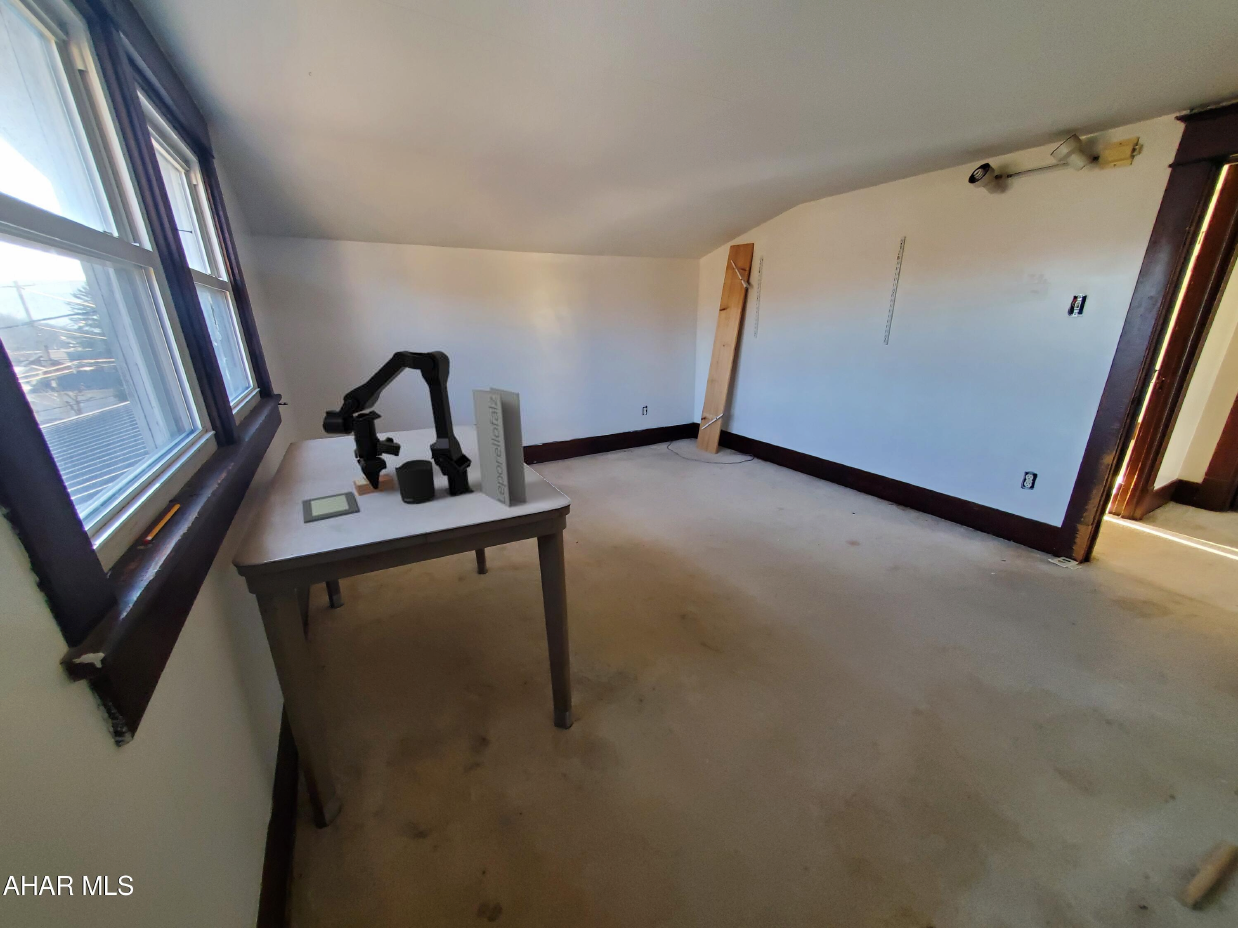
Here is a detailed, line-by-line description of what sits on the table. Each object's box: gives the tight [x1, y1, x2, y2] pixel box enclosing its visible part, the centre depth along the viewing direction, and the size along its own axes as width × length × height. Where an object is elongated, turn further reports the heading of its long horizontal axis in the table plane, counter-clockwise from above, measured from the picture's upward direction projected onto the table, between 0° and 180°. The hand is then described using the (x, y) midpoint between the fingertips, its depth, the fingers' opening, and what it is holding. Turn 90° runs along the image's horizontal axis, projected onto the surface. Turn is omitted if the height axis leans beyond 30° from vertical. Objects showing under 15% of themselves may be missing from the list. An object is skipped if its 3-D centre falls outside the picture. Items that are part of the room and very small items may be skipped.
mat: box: [301, 491, 360, 524], centre depth 123 cm, size 16×12×1 cm
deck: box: [353, 473, 396, 497], centre depth 135 cm, size 10×6×3 cm, turn 128°
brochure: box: [471, 386, 527, 508], centre depth 125 cm, size 14×6×30 cm, turn 45°
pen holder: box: [394, 459, 436, 505], centre depth 127 cm, size 9×9×10 cm
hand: (374, 485), depth 135 cm, fingers closed on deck, 6 cm apart
